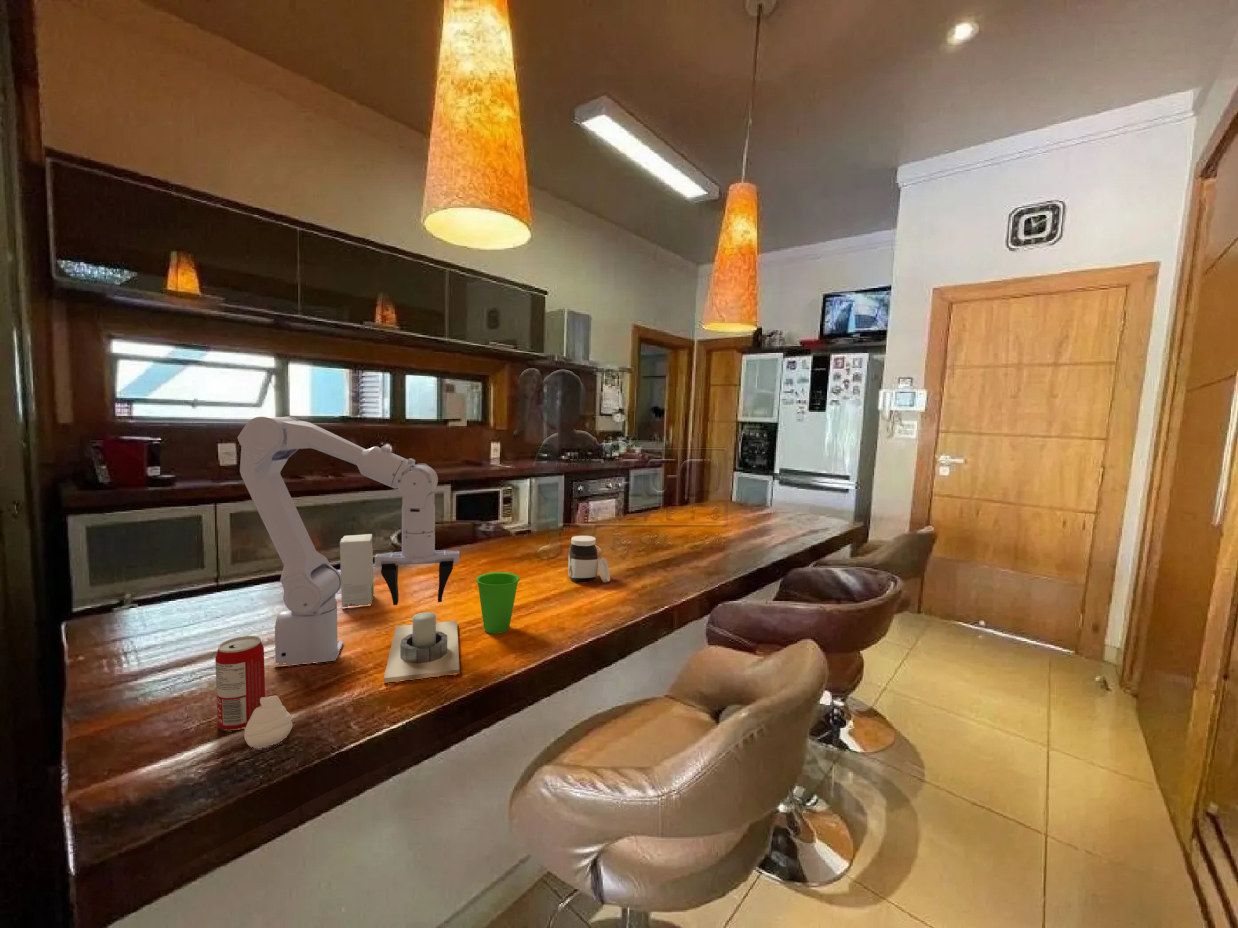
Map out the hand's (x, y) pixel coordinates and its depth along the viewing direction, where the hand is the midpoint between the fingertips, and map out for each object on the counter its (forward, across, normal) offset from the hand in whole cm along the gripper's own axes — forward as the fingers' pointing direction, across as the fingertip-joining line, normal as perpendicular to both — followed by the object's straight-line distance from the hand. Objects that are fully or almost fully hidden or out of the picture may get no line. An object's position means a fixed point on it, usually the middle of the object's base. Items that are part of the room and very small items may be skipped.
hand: (418, 601), depth 96 cm
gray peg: (+9, +1, -3) cm, 9 cm away
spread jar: (+10, +43, +36) cm, 57 cm away
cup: (+10, +15, +7) cm, 20 cm away
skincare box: (+10, -15, +30) cm, 35 cm away
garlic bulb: (+10, -18, -22) cm, 30 cm away
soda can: (+10, -23, -17) cm, 30 cm away
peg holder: (+10, +1, 0) cm, 10 cm away
